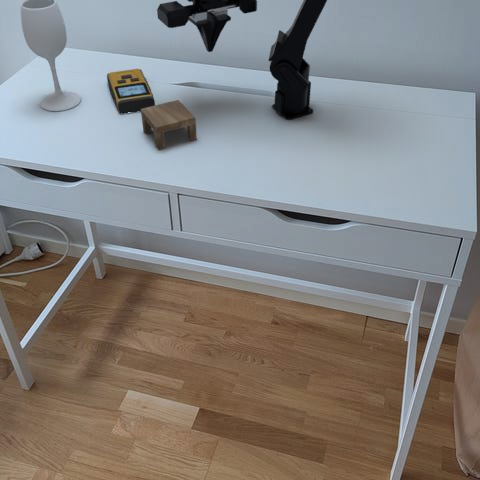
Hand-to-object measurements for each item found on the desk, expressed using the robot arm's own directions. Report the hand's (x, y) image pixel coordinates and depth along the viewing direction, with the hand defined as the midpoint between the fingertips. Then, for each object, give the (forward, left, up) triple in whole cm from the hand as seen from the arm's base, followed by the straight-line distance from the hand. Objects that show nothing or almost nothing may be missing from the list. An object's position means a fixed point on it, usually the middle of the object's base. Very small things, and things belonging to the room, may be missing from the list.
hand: (209, 51), depth 118 cm
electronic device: (+13, -13, -13) cm, 23 cm away
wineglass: (+28, -17, -12) cm, 35 cm away
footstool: (+9, +7, -10) cm, 15 cm away
